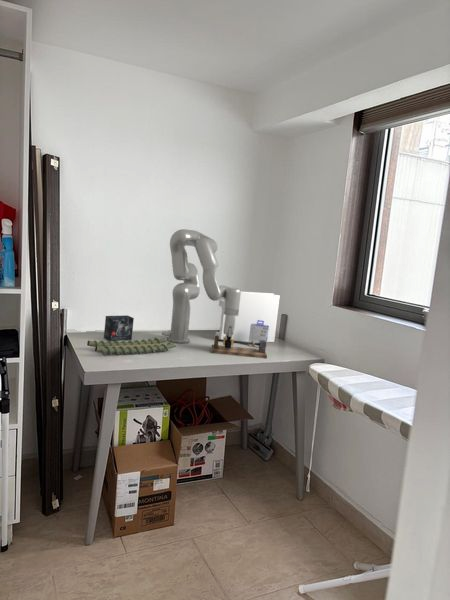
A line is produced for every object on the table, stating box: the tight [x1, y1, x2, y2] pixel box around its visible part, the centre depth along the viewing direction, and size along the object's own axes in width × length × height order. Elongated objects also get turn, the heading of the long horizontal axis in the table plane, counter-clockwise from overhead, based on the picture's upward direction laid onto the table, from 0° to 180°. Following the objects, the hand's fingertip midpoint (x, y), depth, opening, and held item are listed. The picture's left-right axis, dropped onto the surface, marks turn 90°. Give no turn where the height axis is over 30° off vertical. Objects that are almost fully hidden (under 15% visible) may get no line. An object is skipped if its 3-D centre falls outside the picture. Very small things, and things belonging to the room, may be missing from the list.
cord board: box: [211, 335, 268, 359], centre depth 240 cm, size 28×12×8 cm, turn 92°
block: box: [214, 291, 281, 343], centre depth 271 cm, size 35×8×28 cm, turn 114°
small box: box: [103, 314, 135, 342], centre depth 241 cm, size 13×7×12 cm, turn 131°
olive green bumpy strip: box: [86, 337, 177, 356], centre depth 222 cm, size 41×14×5 cm, turn 125°
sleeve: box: [222, 337, 234, 347], centre depth 240 cm, size 5×4×4 cm
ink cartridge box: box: [247, 320, 269, 348], centre depth 259 cm, size 10×6×14 cm, turn 78°
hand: (227, 346), depth 240 cm, fingers closed on sleeve, 3 cm apart
